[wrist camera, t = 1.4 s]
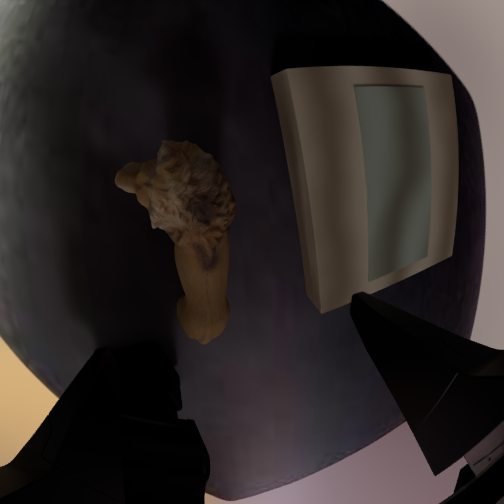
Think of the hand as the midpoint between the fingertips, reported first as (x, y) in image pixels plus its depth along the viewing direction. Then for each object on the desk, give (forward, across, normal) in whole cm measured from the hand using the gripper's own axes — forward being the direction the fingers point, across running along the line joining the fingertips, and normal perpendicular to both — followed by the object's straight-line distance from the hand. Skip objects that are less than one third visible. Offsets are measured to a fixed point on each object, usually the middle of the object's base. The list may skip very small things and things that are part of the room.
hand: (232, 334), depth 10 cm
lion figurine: (+12, +2, +1) cm, 12 cm away
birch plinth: (+13, -14, 0) cm, 19 cm away
